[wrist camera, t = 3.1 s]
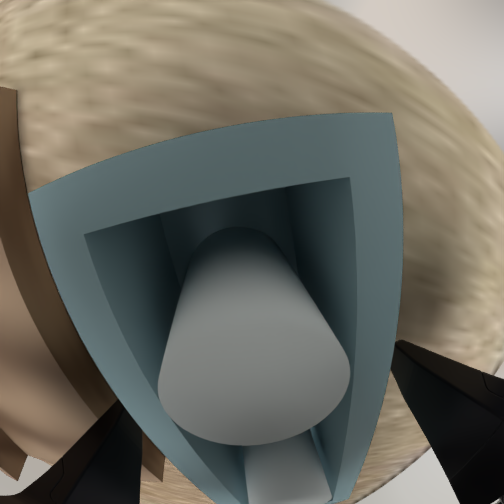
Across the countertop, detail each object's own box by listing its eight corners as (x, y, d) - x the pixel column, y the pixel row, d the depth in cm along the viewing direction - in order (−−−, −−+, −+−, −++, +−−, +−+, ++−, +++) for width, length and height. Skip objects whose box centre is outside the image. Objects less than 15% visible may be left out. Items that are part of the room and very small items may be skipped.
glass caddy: (322, 426, 12) (351, 506, 7) (232, 444, 12) (241, 529, 7) (296, 137, 8) (414, 109, 2) (132, 172, 7) (6, 199, 2)
